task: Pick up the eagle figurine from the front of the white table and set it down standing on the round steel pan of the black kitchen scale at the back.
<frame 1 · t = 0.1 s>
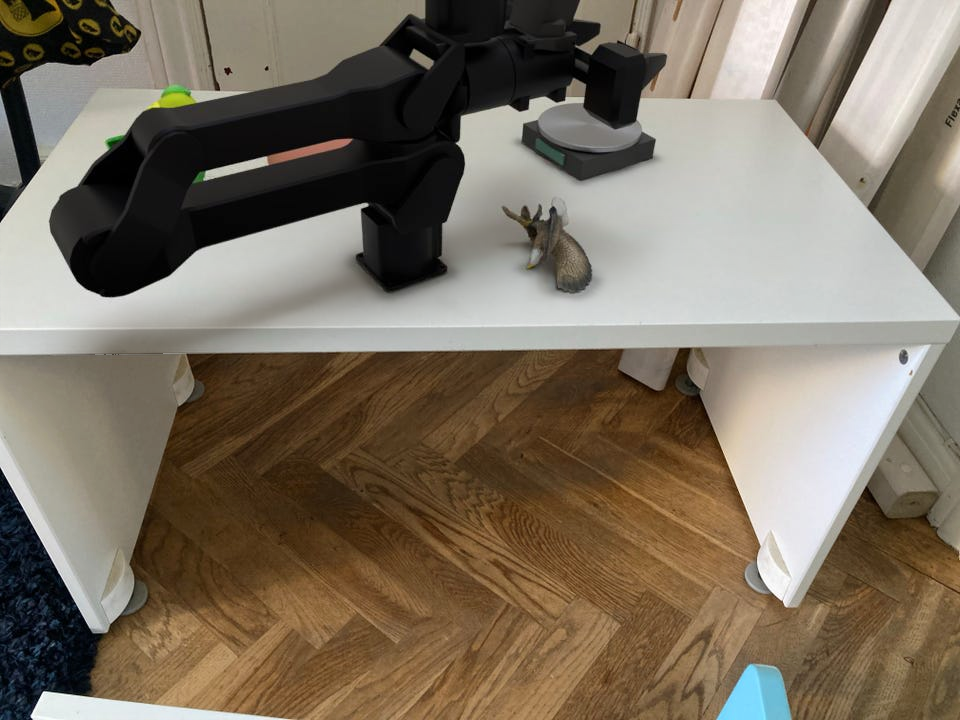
hand: (631, 43, 77), 17 cm above the table, tool horizontal, fingers open, 9 cm apart
scale pan: (589, 126, 95), point 3 cm above the table, slide at 0.1 cm
scale: (586, 150, 97), on the table
sugar bowl: (325, 175, 90), on the table
fruit basket: (171, 200, 85), on the table
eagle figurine: (548, 267, 78), on the table
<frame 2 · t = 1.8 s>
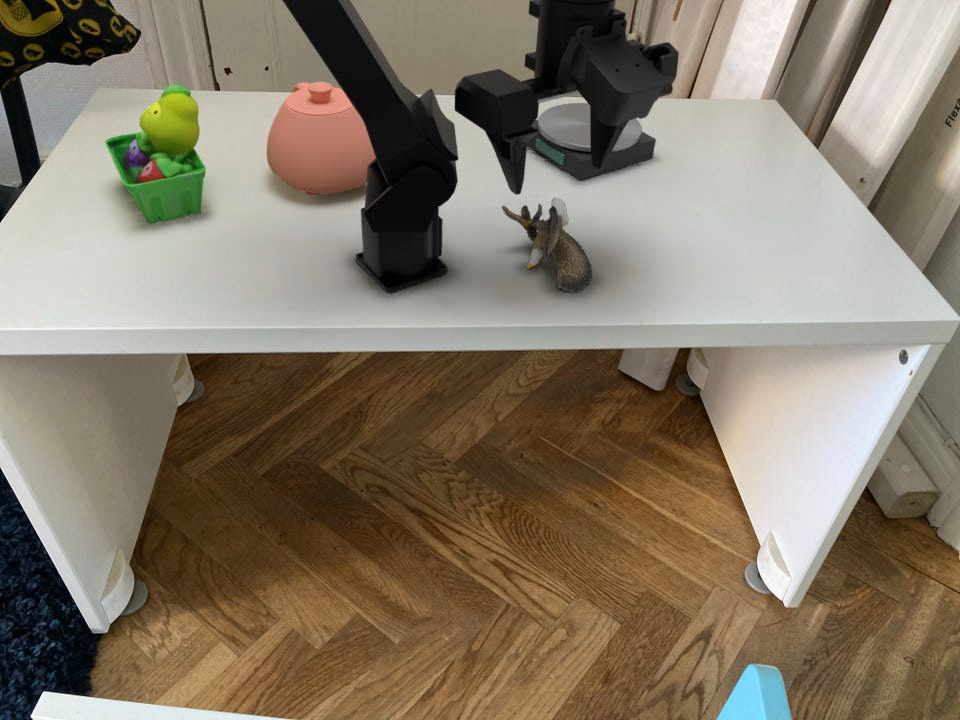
hand: (557, 179, 72), 9 cm above the table, tool pointing down, fingers open, 9 cm apart
nothing on the table moved.
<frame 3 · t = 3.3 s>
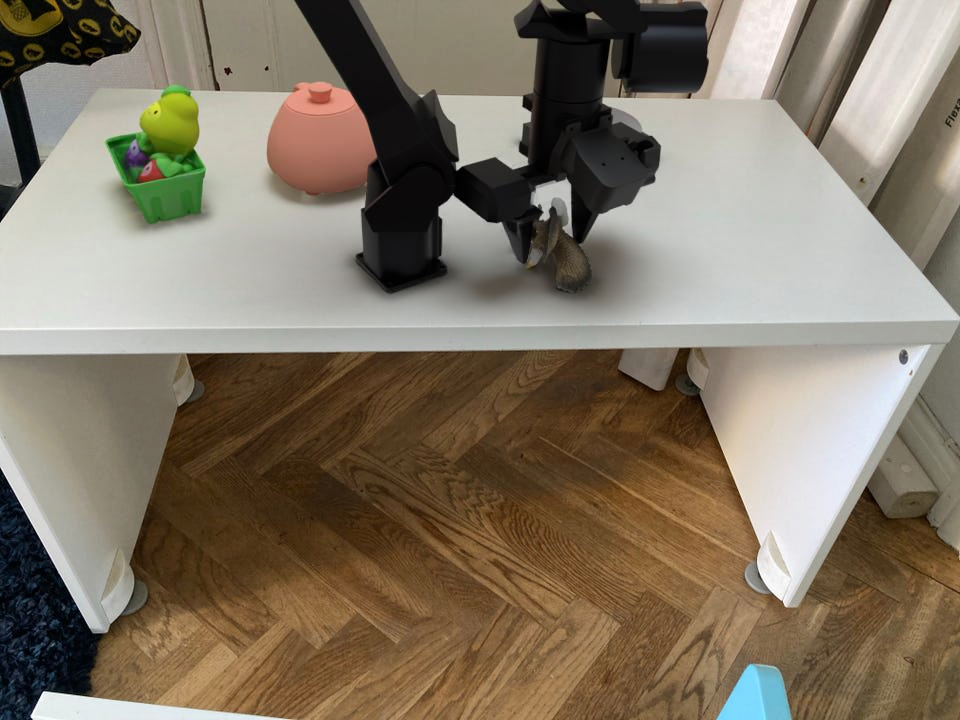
hand: (550, 252, 77), 2 cm above the table, tool pointing down, fingers closed on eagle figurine, 6 cm apart
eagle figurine: (547, 267, 78), on the table, touching gripper
everything else where it was.
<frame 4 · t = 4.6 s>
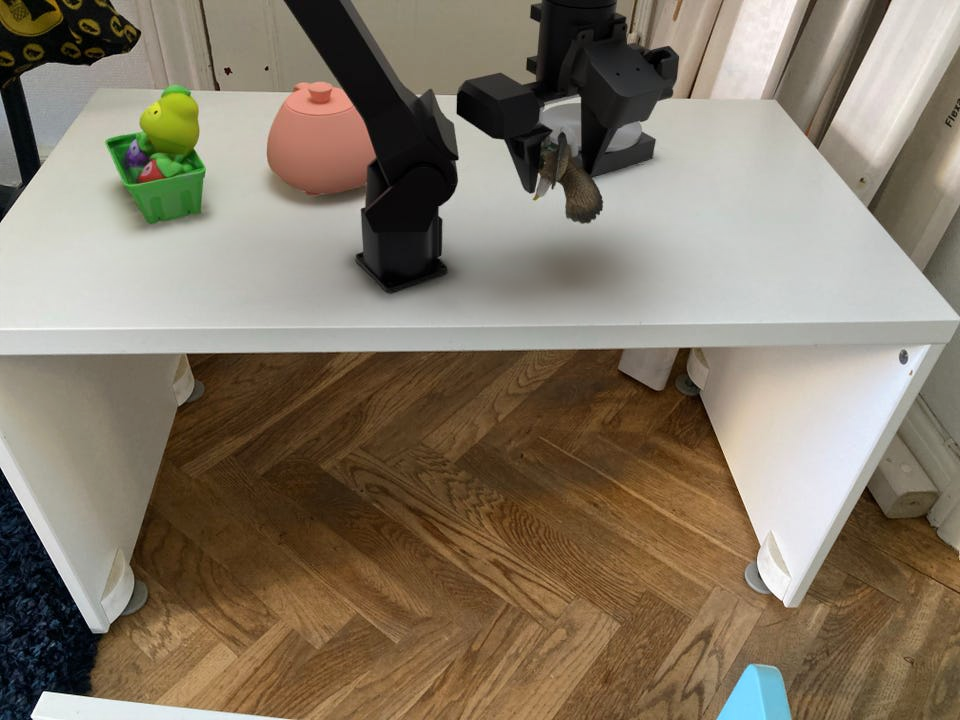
hand: (558, 182, 72), 9 cm above the table, tool pointing down, fingers closed on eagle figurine, 6 cm apart
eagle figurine: (556, 200, 73), point 7 cm above the table, touching gripper
everything else where it was.
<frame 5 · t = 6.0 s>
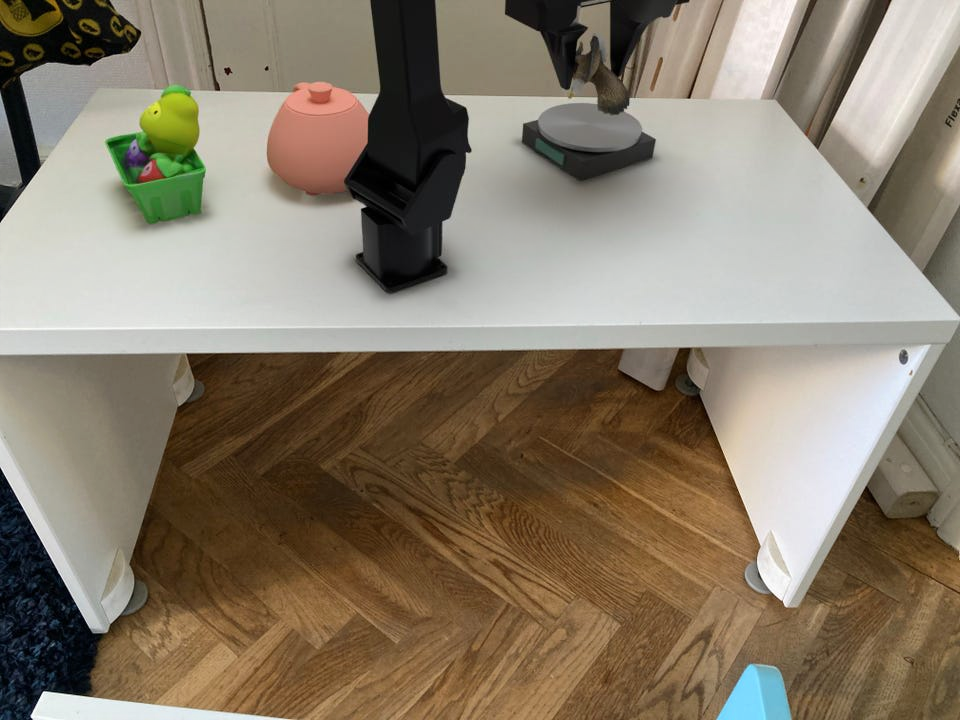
hand: (590, 82, 83), 11 cm above the table, tool pointing down, fingers closed on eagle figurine, 6 cm apart
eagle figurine: (588, 99, 84), point 10 cm above the table, touching gripper
everything else where it was.
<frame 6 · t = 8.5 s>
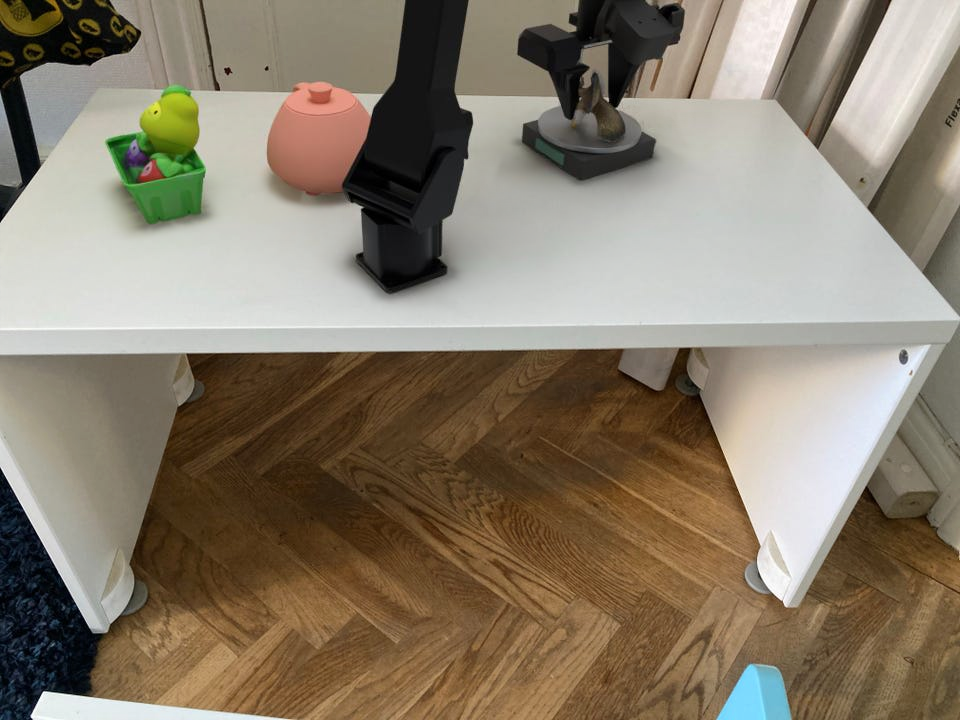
hand: (591, 112, 94), 5 cm above the table, tool pointing down, fingers closed on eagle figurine, 6 cm apart
scale pan: (589, 127, 95), point 3 cm above the table, slide at -0.1 cm, touching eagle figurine
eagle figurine: (589, 127, 95), point 3 cm above the table, touching gripper, scale pan
everything else where it was.
when the fingers open (5 cm above the table, at t = 8.7 s): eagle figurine stays where it is, resting on scale pan.
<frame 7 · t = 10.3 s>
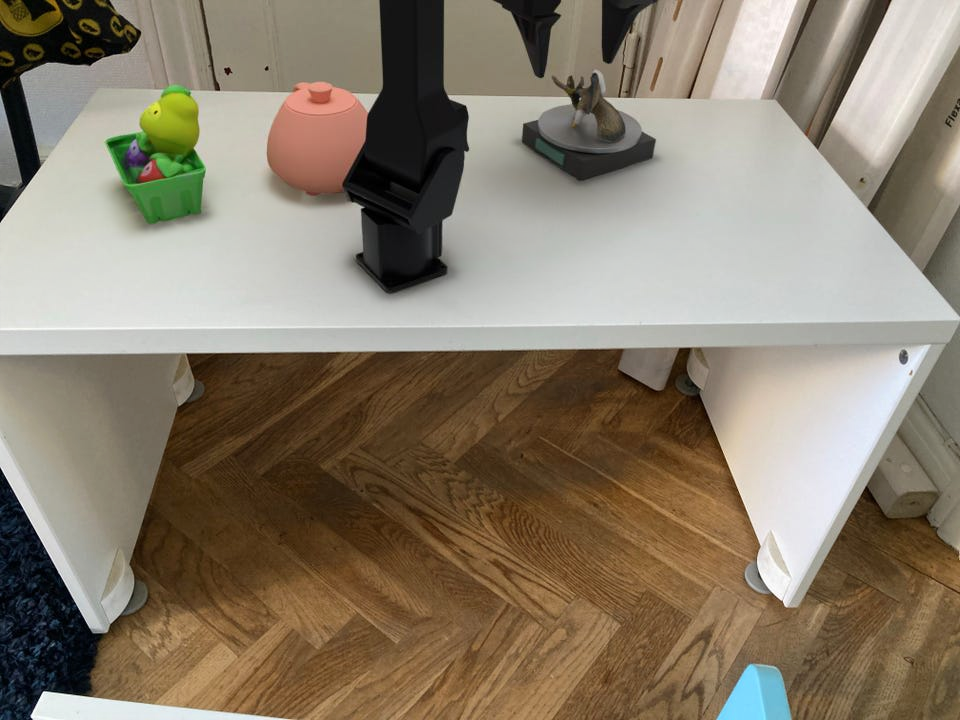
hand: (573, 69, 85), 11 cm above the table, tool pointing down, fingers open, 9 cm apart
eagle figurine: (589, 127, 95), point 3 cm above the table, touching scale pan
everything else where it was.
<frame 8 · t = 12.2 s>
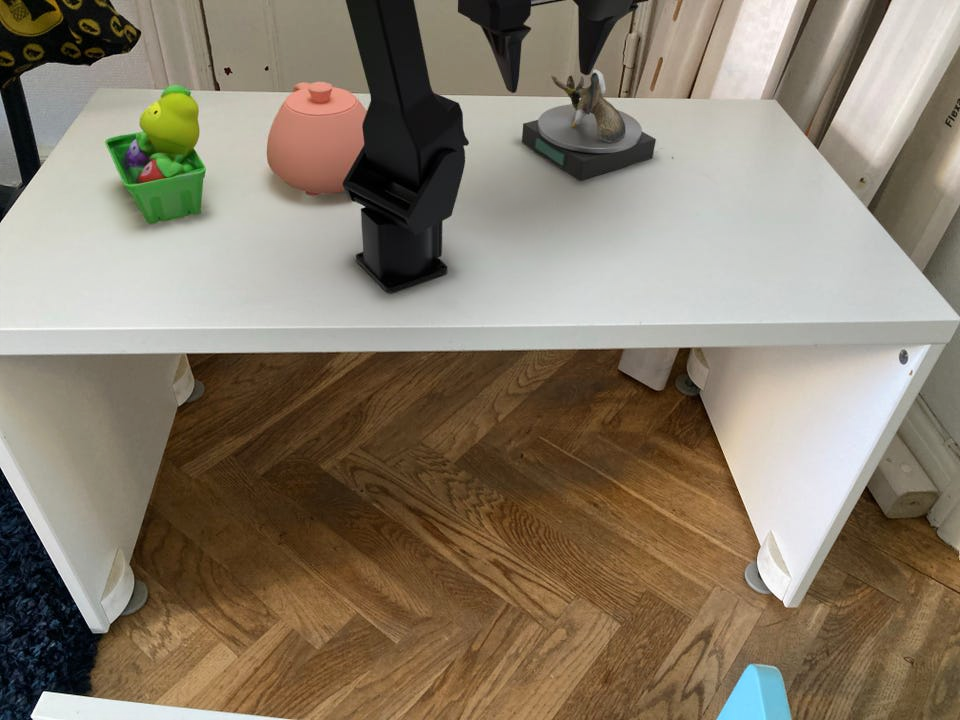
hand: (549, 82, 81), 12 cm above the table, tool pointing down, fingers open, 9 cm apart
nothing on the table moved.
at the end: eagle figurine inside the target area on the scale (0.2 cm from its centre), point 2.9 cm above the scale's base; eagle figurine tilted 0°; the gripper is holding nothing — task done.
